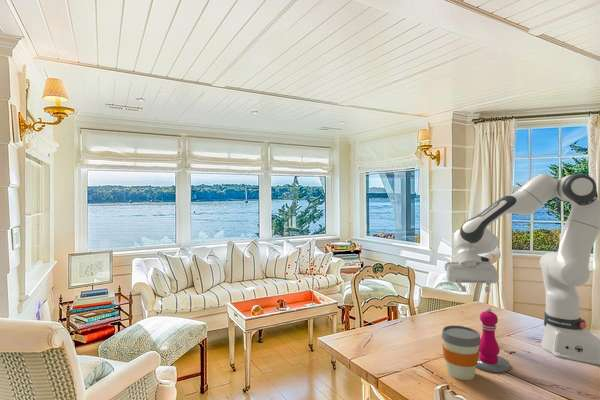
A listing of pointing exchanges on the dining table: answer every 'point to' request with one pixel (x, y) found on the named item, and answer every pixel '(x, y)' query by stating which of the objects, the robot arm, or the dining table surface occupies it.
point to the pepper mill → (488, 338)
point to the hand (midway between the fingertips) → (475, 291)
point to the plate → (494, 365)
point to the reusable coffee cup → (461, 351)
